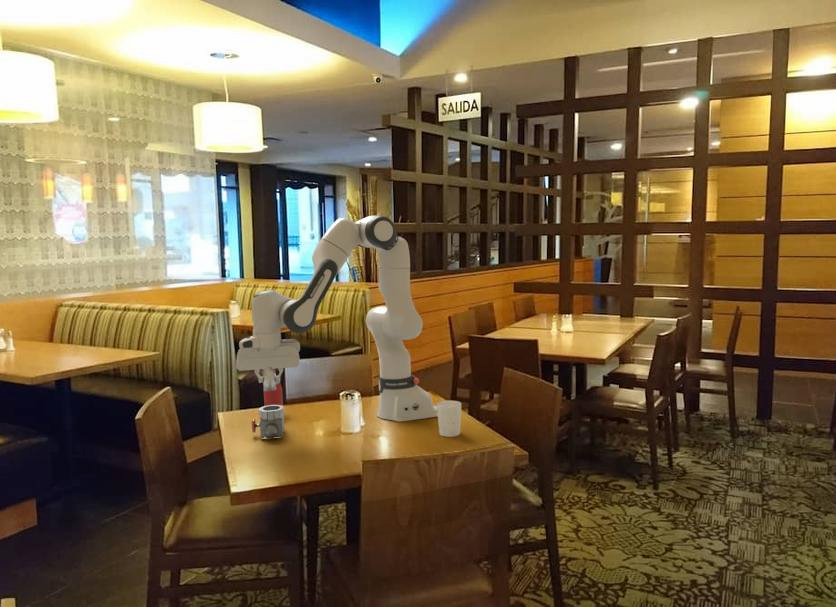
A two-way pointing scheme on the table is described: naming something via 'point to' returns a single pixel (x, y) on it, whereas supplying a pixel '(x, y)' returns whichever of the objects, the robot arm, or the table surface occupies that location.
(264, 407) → the valve body
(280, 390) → the beer can
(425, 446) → the table surface
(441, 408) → the white cup
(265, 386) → the pipe nipple
